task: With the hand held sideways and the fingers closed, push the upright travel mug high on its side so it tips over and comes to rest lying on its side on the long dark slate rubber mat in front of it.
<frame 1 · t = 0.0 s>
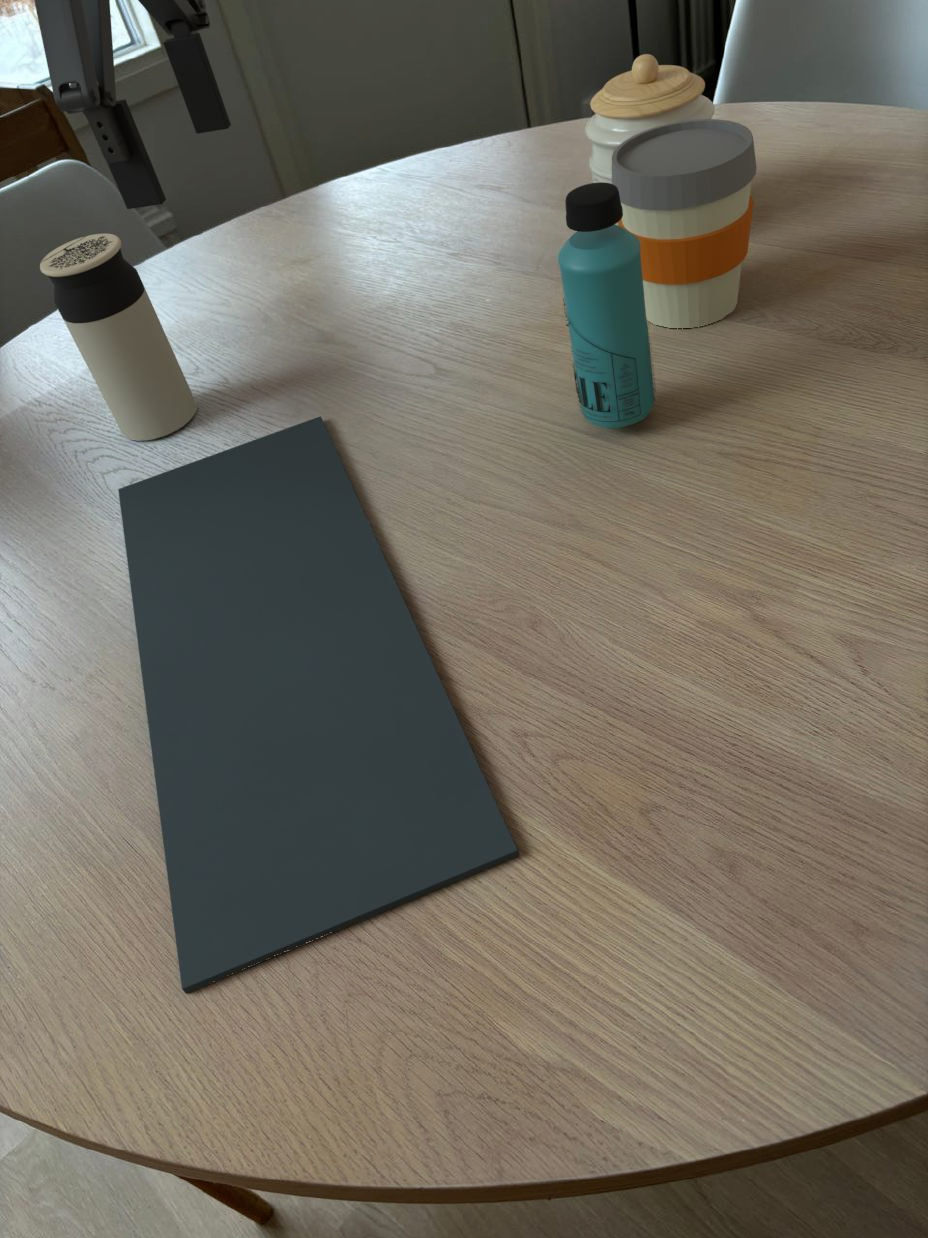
hand: (182, 164, 74), 27 cm above the table, tool pointing down, fingers open, 13 cm apart
jar: (657, 231, 111), on the table
beverage bottle: (619, 424, 86), on the table
reusable coffee cup: (689, 306, 98), on the table
travel mug: (161, 421, 103), on the table
mat: (288, 688, 71), on the table
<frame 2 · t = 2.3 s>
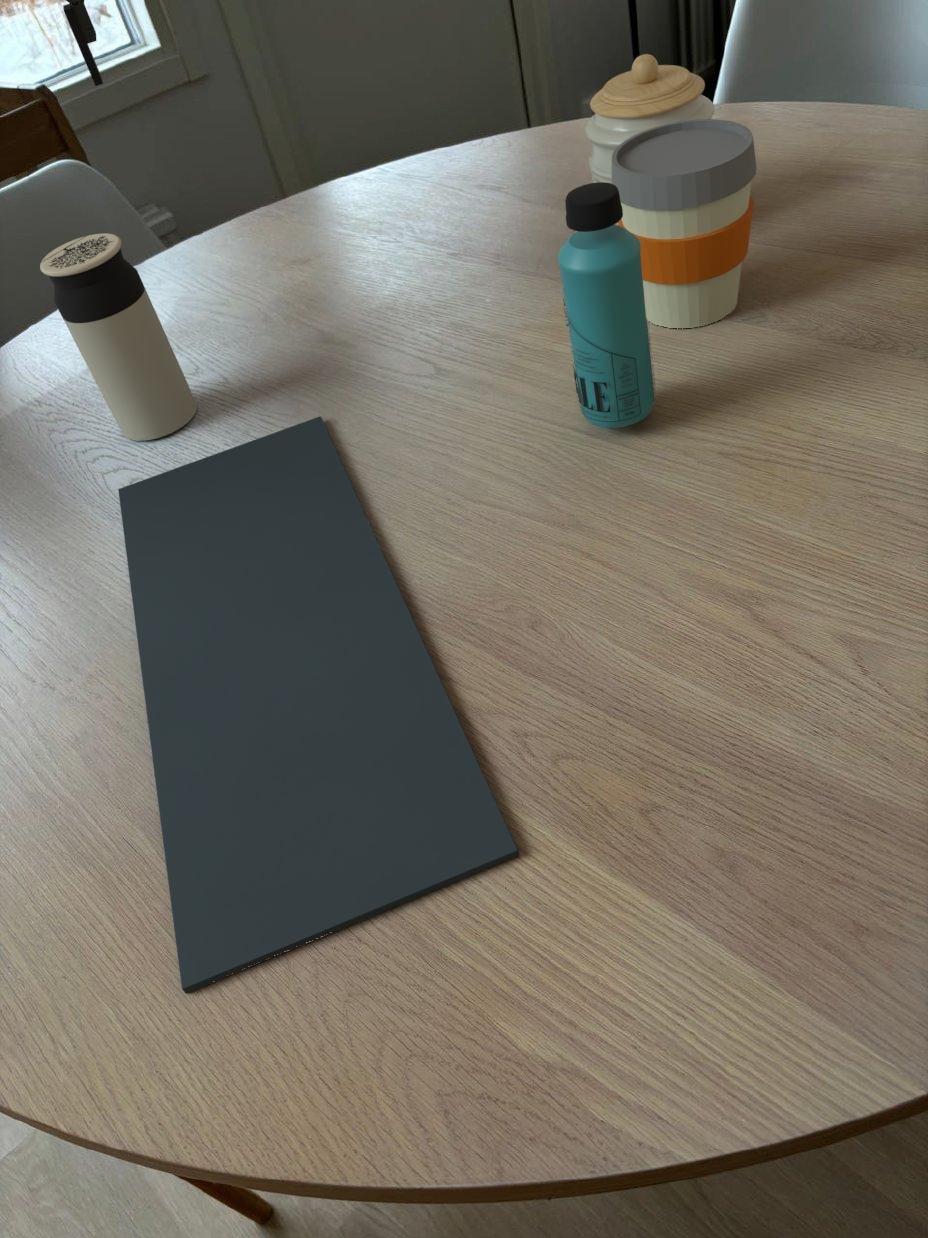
hand: (32, 102, 98), 27 cm above the table, tool pointing down, fingers open, 12 cm apart
nothing on the table moved.
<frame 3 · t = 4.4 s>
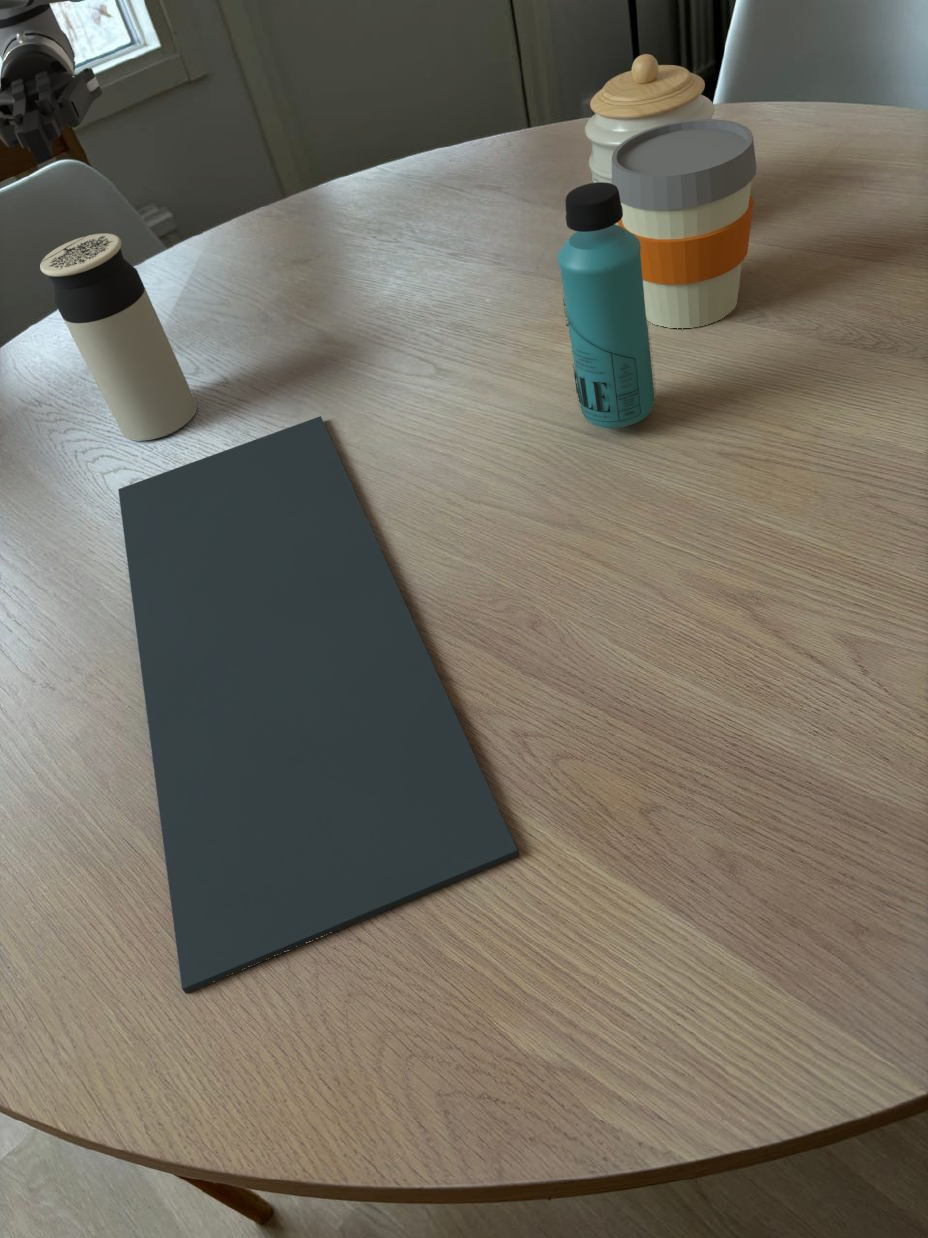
hand: (37, 145, 93), 25 cm above the table, tool horizontal, fingers closed
nothing on the table moved.
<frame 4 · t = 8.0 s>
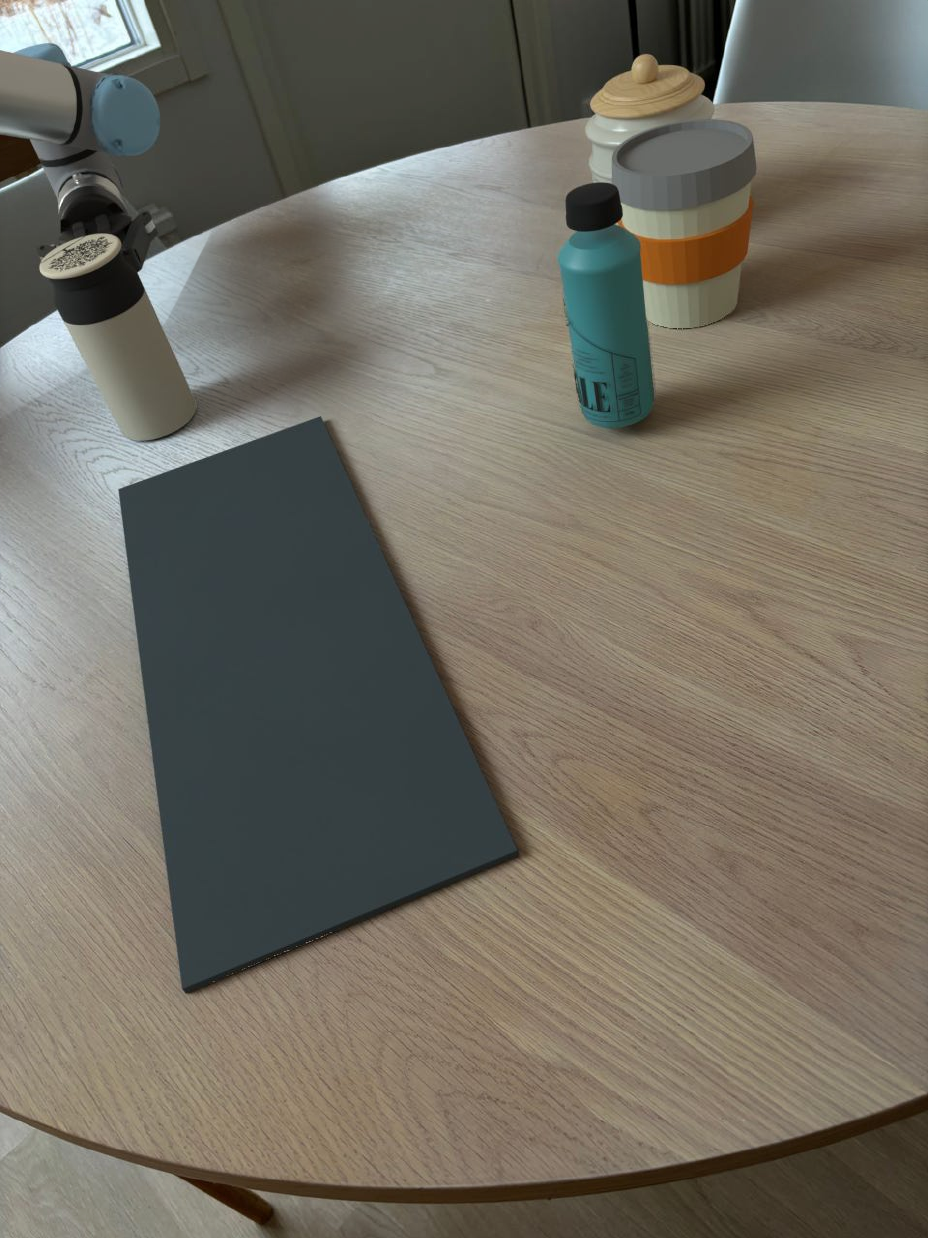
hand: (107, 297, 98), 12 cm above the table, tool horizontal, fingers closed
nothing on the table moved.
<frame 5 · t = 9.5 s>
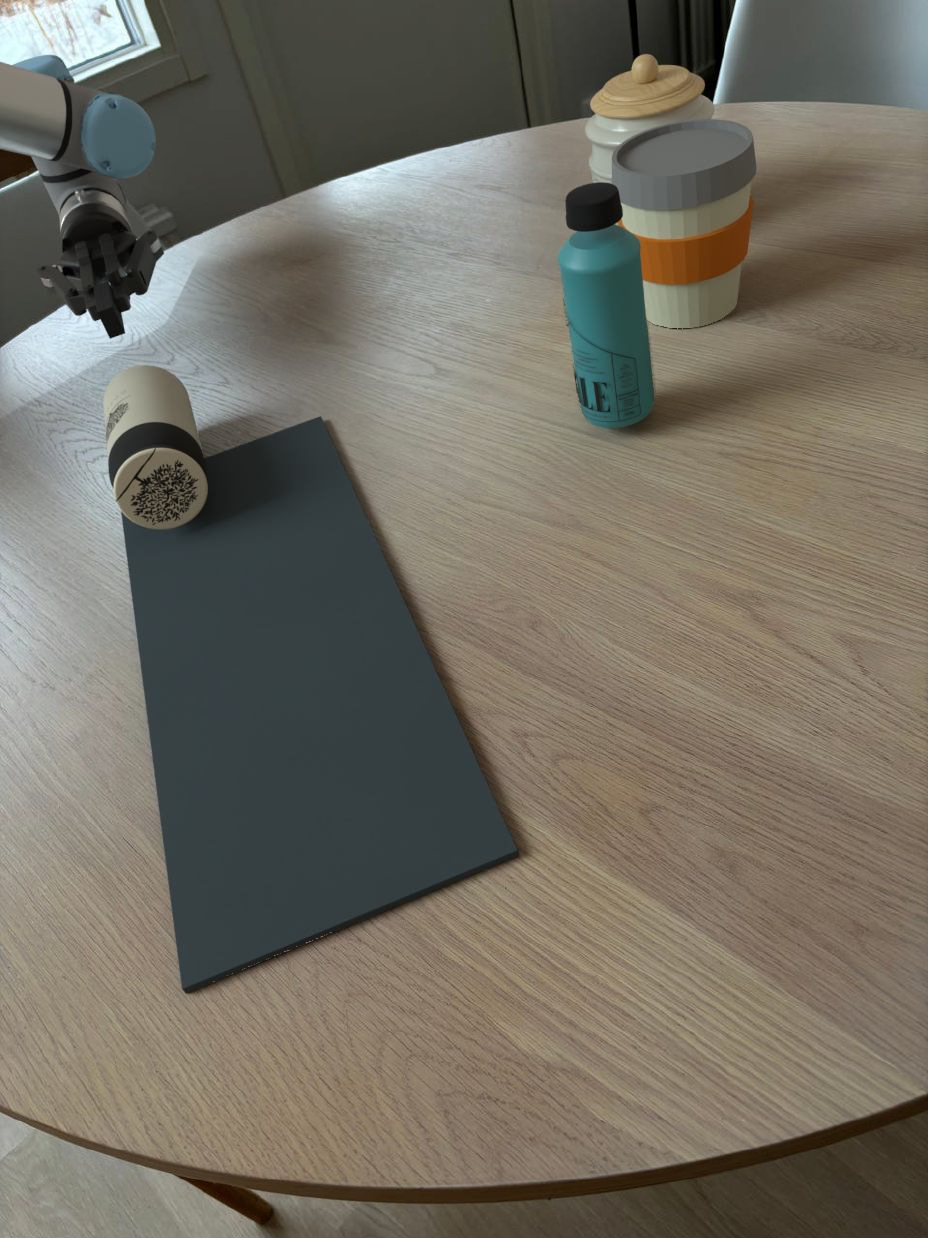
hand: (111, 322, 93), 12 cm above the table, tool horizontal, fingers closed
travel mug: (146, 402, 97), point 4 cm above the table, touching mat
everything else where it was.
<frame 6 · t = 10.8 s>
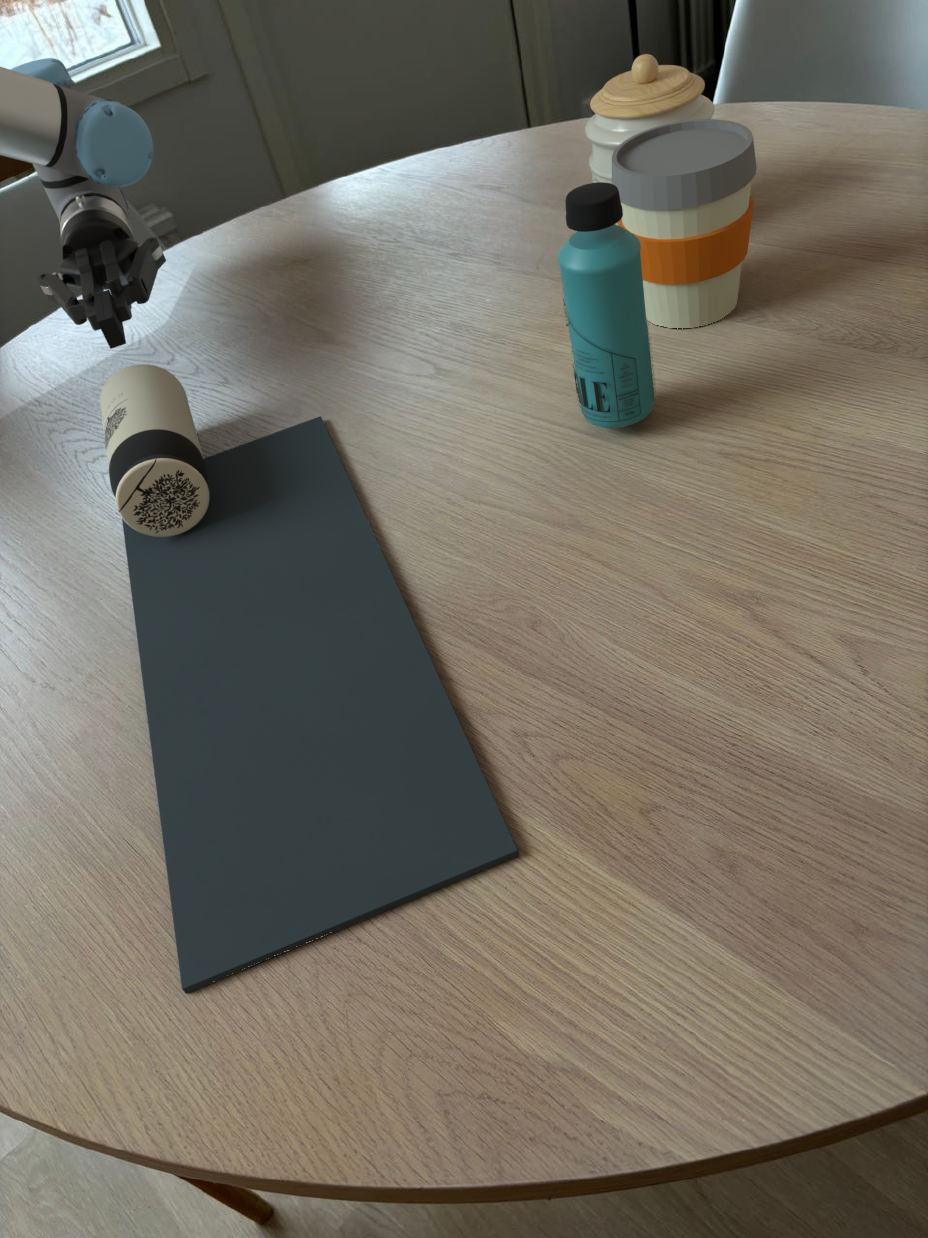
hand: (111, 332, 91), 12 cm above the table, tool horizontal, fingers closed
nothing on the table moved.
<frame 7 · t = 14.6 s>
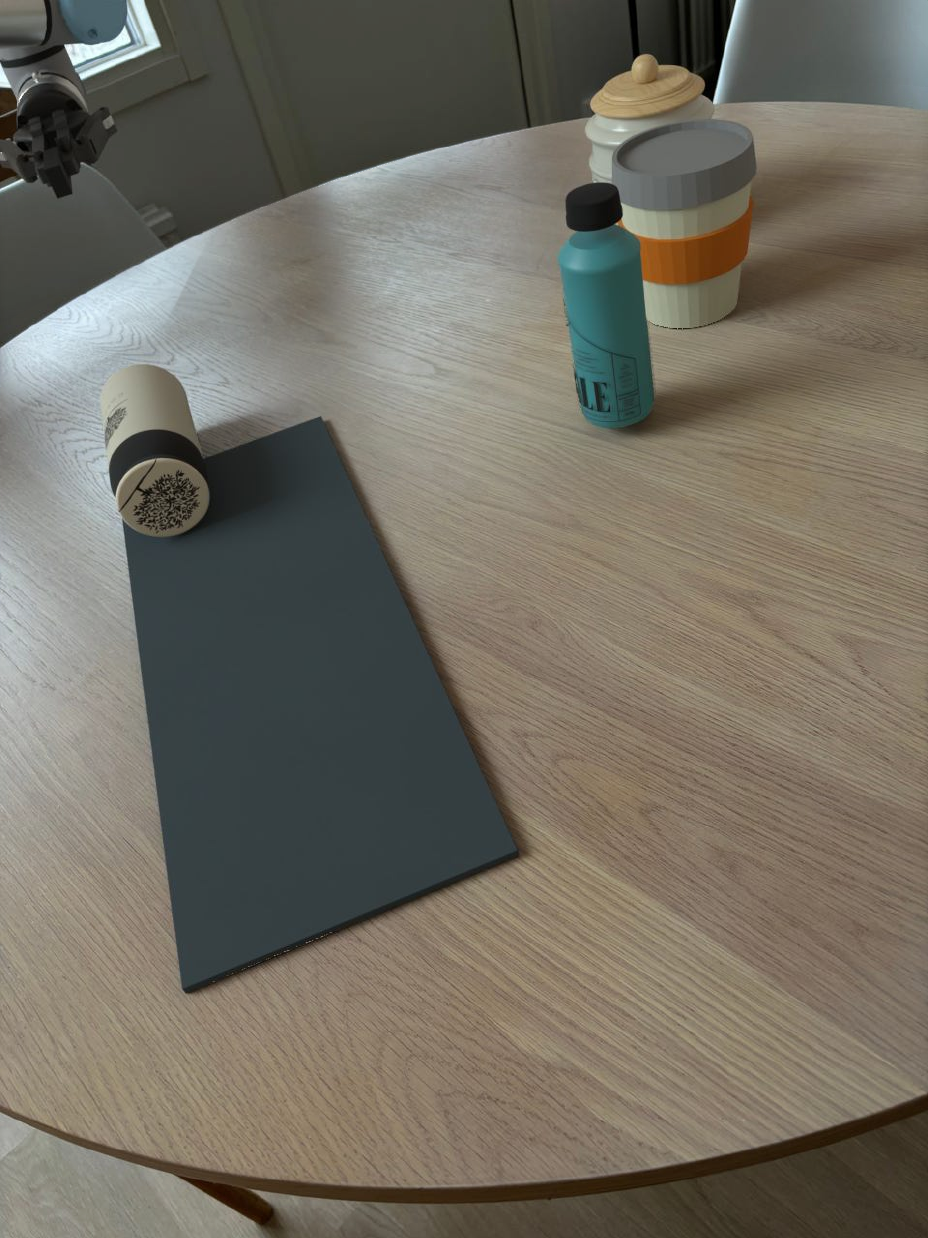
hand: (58, 181, 95), 21 cm above the table, tool horizontal, fingers closed
nothing on the table moved.
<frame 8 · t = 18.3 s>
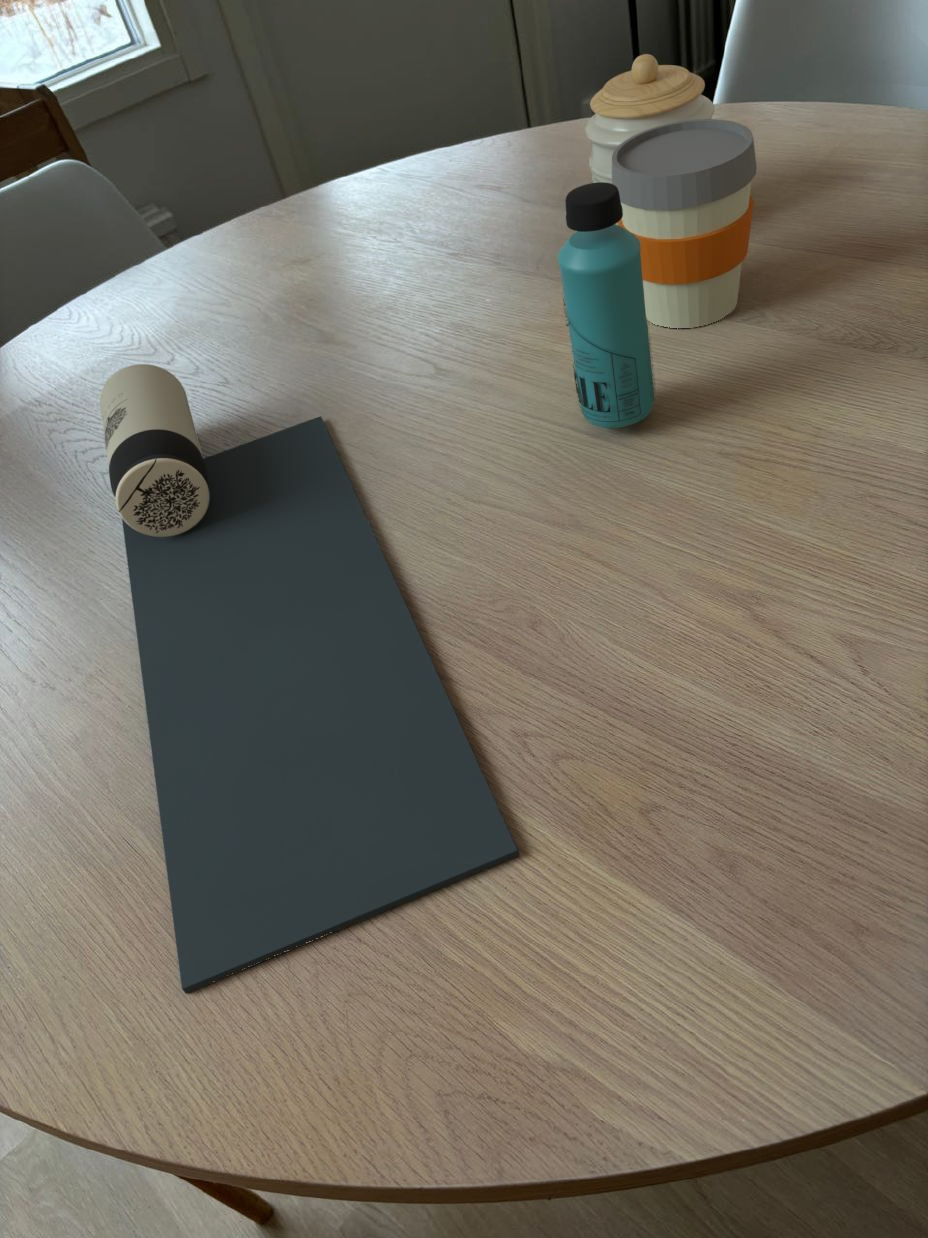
nothing on the table moved.
at the end: travel mug tilted 90°; travel mug touching mat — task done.
